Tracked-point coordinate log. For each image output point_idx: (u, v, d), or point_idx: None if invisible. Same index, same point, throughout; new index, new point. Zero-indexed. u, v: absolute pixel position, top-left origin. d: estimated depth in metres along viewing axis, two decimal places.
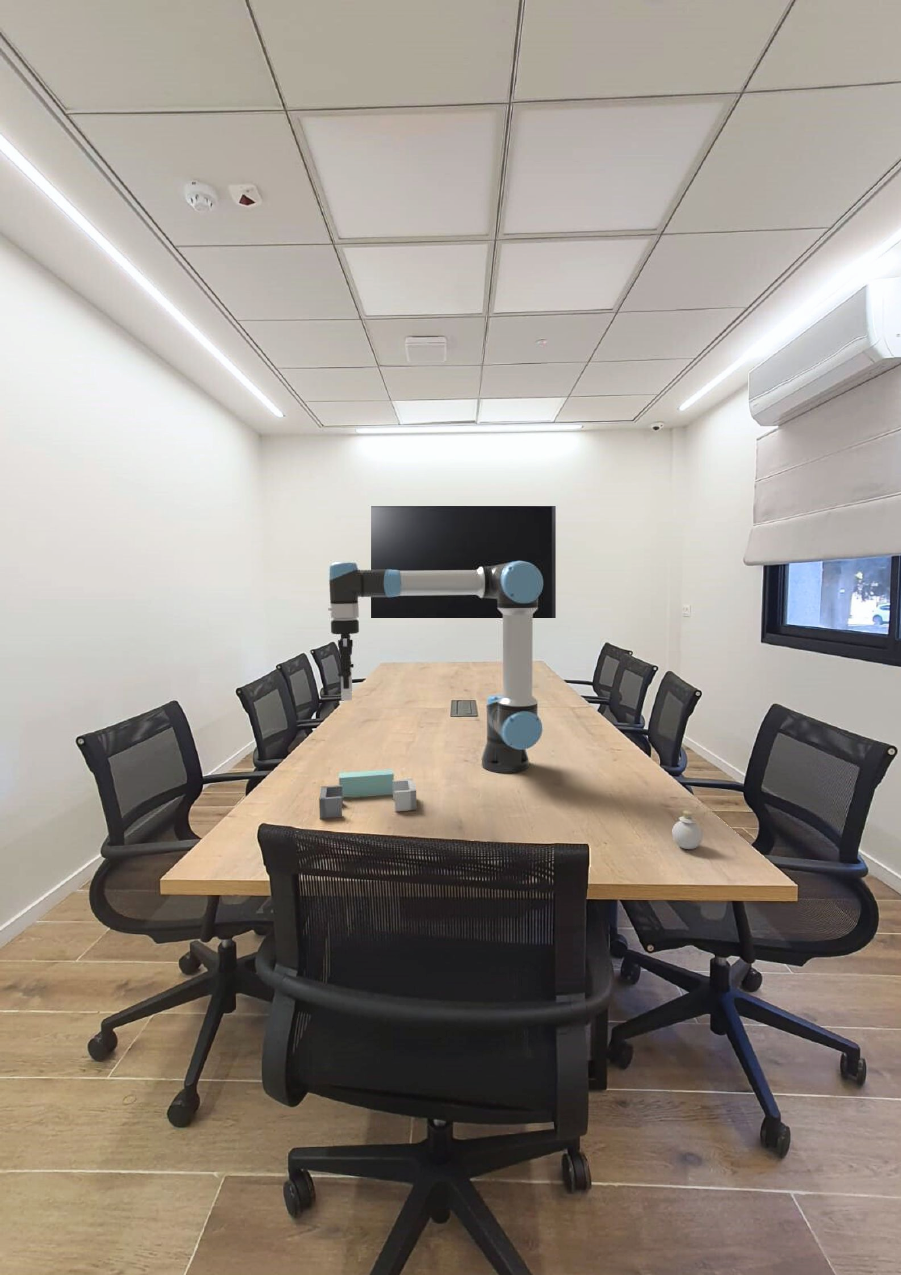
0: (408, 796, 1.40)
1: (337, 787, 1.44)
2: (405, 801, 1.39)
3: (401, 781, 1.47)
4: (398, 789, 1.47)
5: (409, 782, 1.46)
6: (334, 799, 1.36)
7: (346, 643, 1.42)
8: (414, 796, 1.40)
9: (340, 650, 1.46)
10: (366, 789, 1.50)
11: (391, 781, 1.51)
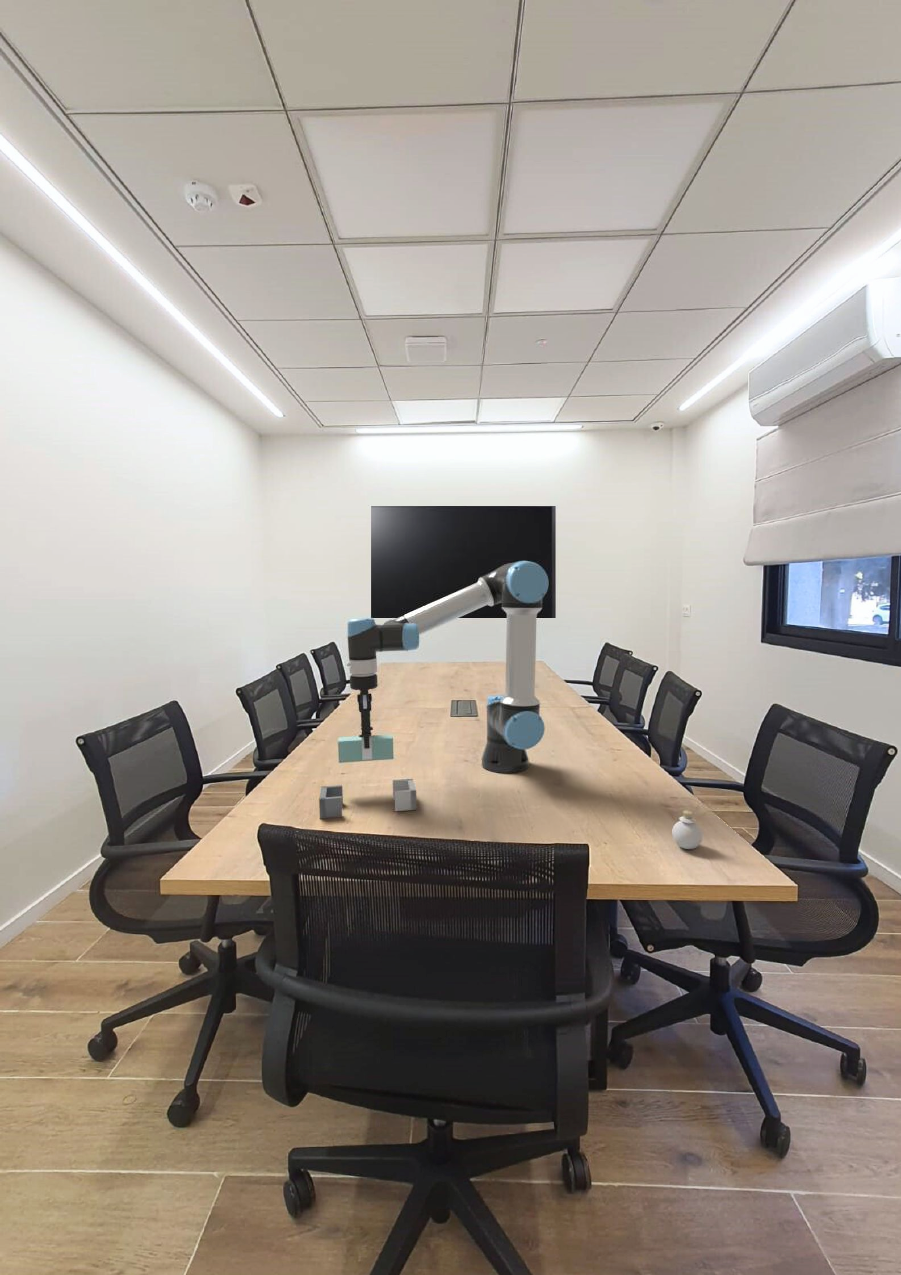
0: (408, 796, 1.40)
1: (337, 787, 1.44)
2: (405, 801, 1.39)
3: (401, 781, 1.47)
4: (398, 789, 1.47)
5: (409, 782, 1.46)
6: (334, 799, 1.36)
7: (366, 706, 1.44)
8: (414, 796, 1.40)
9: (360, 708, 1.47)
10: None
11: (390, 745, 1.50)
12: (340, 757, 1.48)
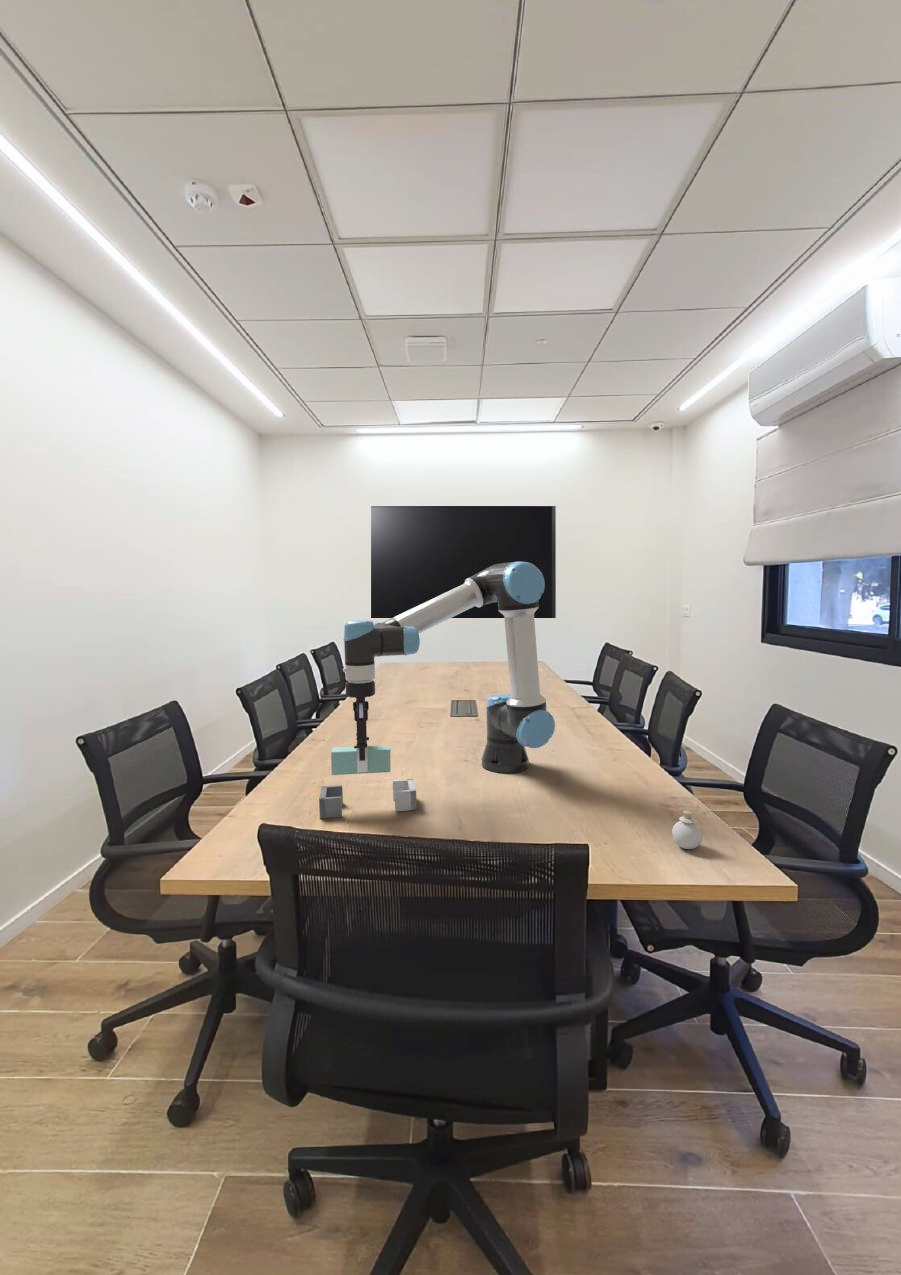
0: (408, 796, 1.40)
1: (337, 787, 1.44)
2: (405, 801, 1.39)
3: (401, 781, 1.47)
4: (398, 789, 1.47)
5: (409, 782, 1.46)
6: (334, 799, 1.36)
7: (362, 715, 1.34)
8: (414, 796, 1.40)
9: (355, 717, 1.37)
10: None
11: (387, 757, 1.40)
12: (333, 769, 1.38)
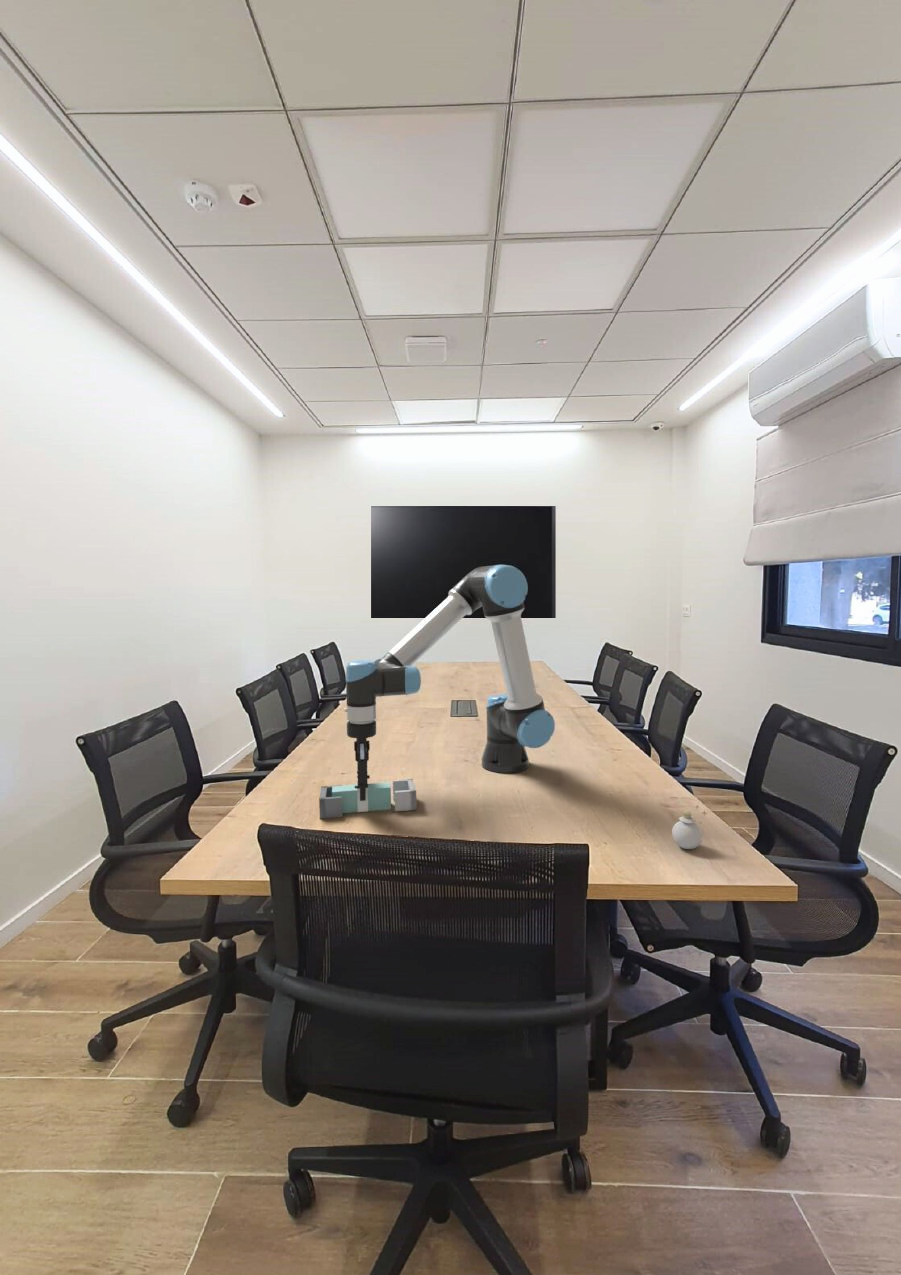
0: (408, 796, 1.40)
1: None
2: (405, 801, 1.39)
3: (401, 781, 1.47)
4: (398, 789, 1.47)
5: (409, 782, 1.46)
6: (334, 799, 1.36)
7: (363, 757, 1.35)
8: (414, 796, 1.40)
9: (356, 757, 1.38)
10: None
11: (388, 795, 1.41)
12: None
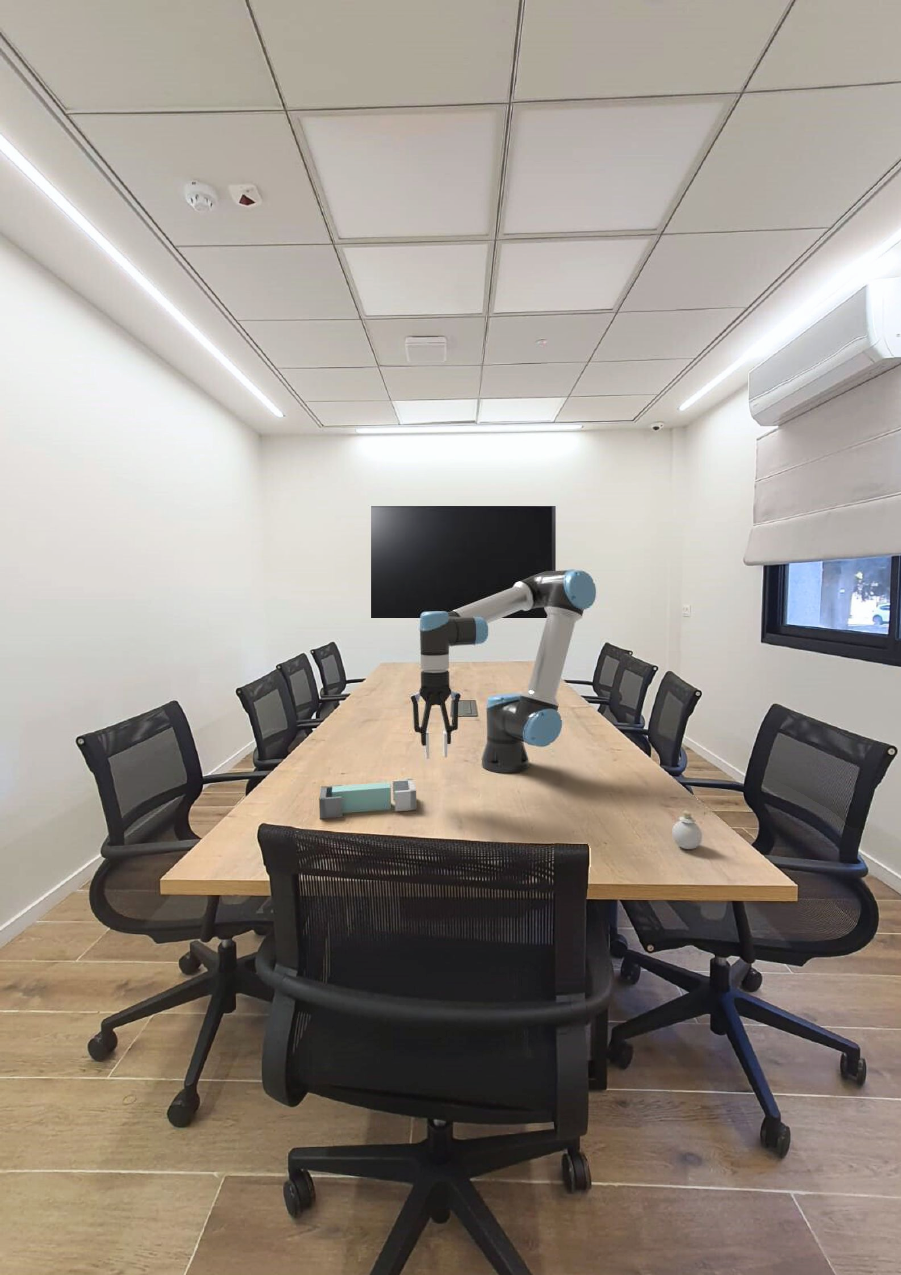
0: (408, 796, 1.40)
1: None
2: (405, 801, 1.39)
3: (401, 781, 1.47)
4: (398, 789, 1.47)
5: (409, 782, 1.46)
6: (334, 799, 1.36)
7: None
8: (414, 796, 1.40)
9: (425, 703, 1.44)
10: (361, 804, 1.40)
11: (388, 795, 1.41)
12: None
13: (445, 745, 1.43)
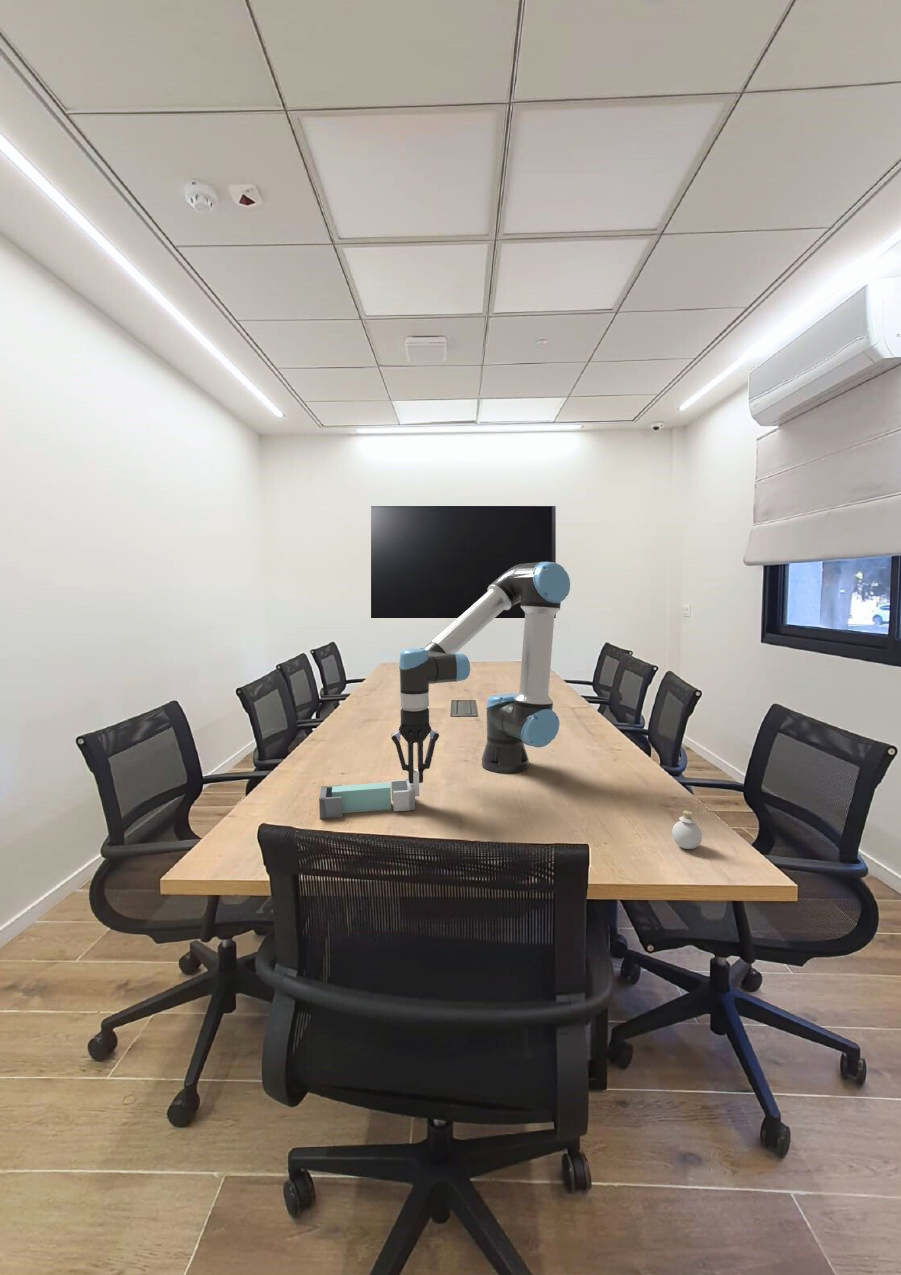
0: (407, 796, 1.39)
1: None
2: (403, 801, 1.39)
3: (400, 781, 1.47)
4: (397, 789, 1.47)
5: (408, 782, 1.46)
6: (334, 799, 1.36)
7: (393, 740, 1.42)
8: (413, 796, 1.40)
9: None
10: (361, 804, 1.40)
11: (388, 795, 1.41)
12: None
13: (417, 784, 1.43)
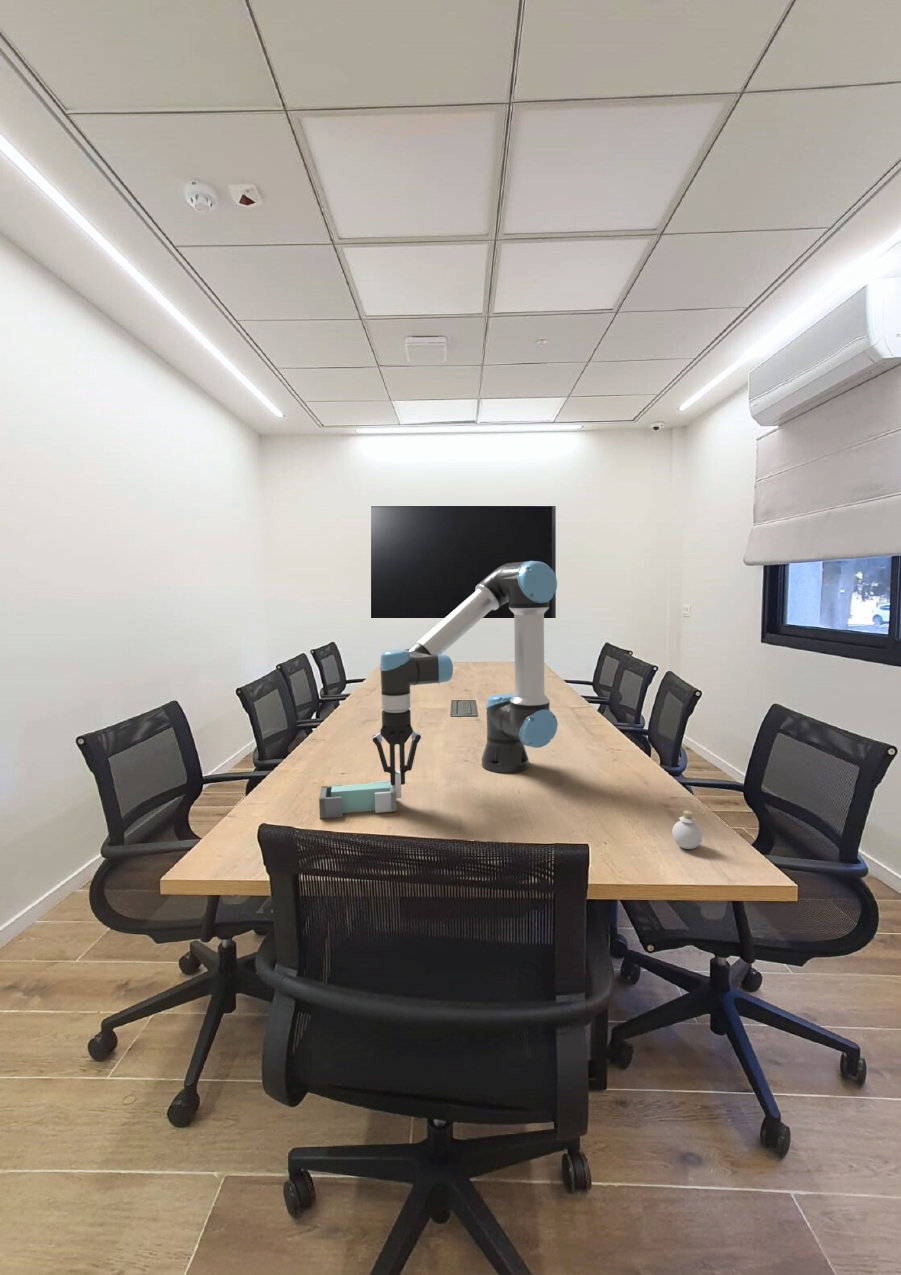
0: (388, 798, 1.39)
1: None
2: (385, 802, 1.39)
3: (382, 782, 1.46)
4: None
5: (390, 783, 1.45)
6: (334, 799, 1.36)
7: (374, 742, 1.41)
8: (394, 798, 1.39)
9: None
10: (360, 804, 1.40)
11: None
12: None
13: (399, 786, 1.42)
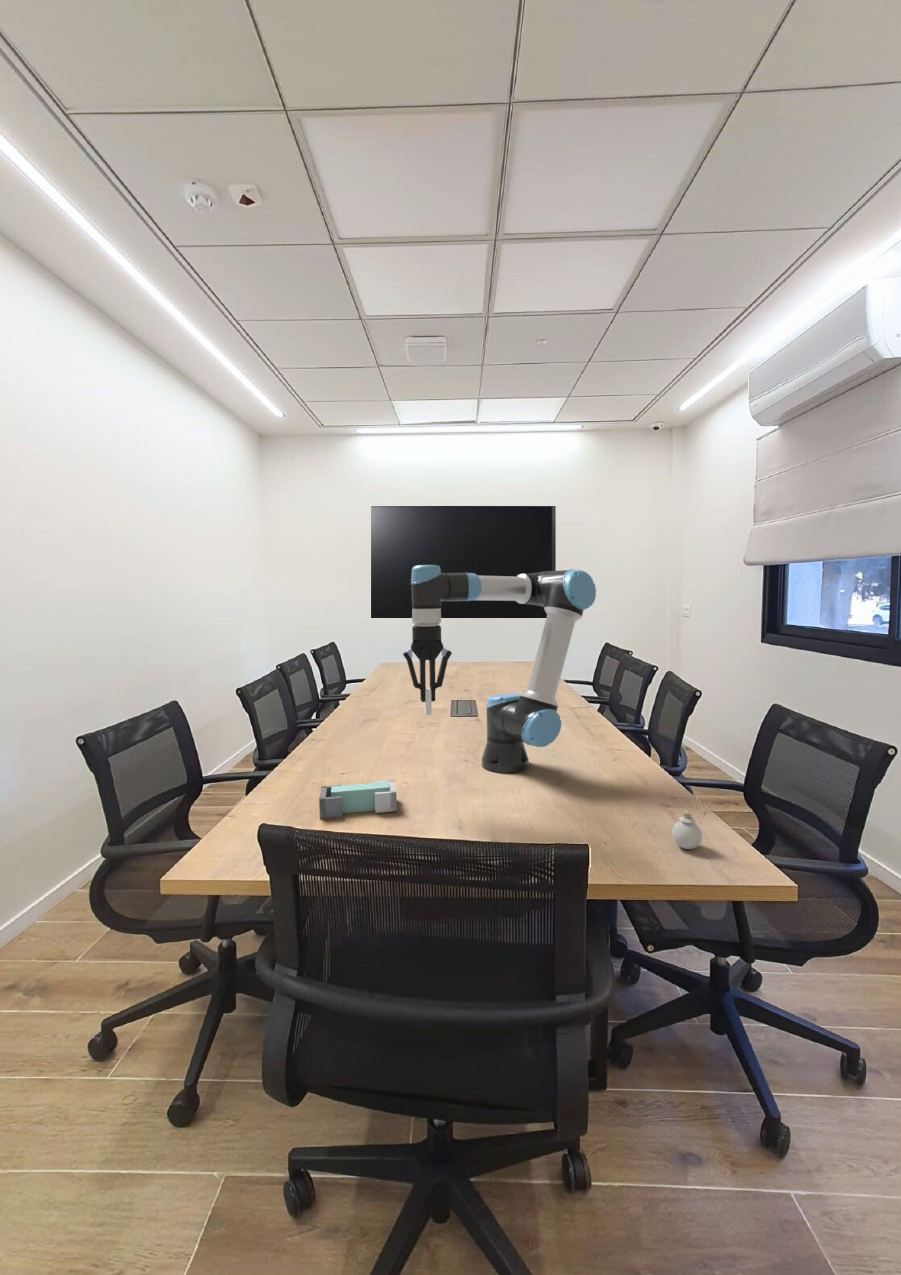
0: (388, 798, 1.39)
1: None
2: (385, 802, 1.39)
3: None
4: None
5: (390, 783, 1.45)
6: (334, 799, 1.36)
7: (405, 657, 1.40)
8: (394, 798, 1.39)
9: (419, 659, 1.43)
10: (360, 804, 1.40)
11: None
12: None
13: (429, 702, 1.41)
